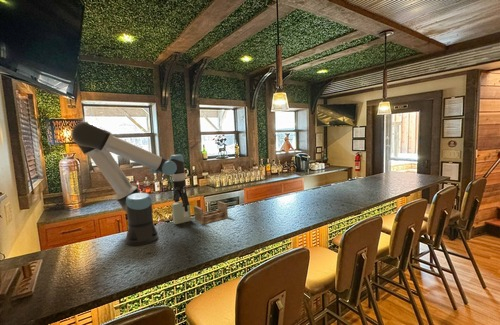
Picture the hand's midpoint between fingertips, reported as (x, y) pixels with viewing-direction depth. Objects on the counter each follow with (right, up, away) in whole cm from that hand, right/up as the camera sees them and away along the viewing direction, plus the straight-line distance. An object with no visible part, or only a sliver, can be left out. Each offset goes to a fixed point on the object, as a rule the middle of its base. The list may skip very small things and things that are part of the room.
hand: (182, 214), depth 153 cm
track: (+18, -4, +3) cm, 18 cm away
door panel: (0, -5, 0) cm, 5 cm away
